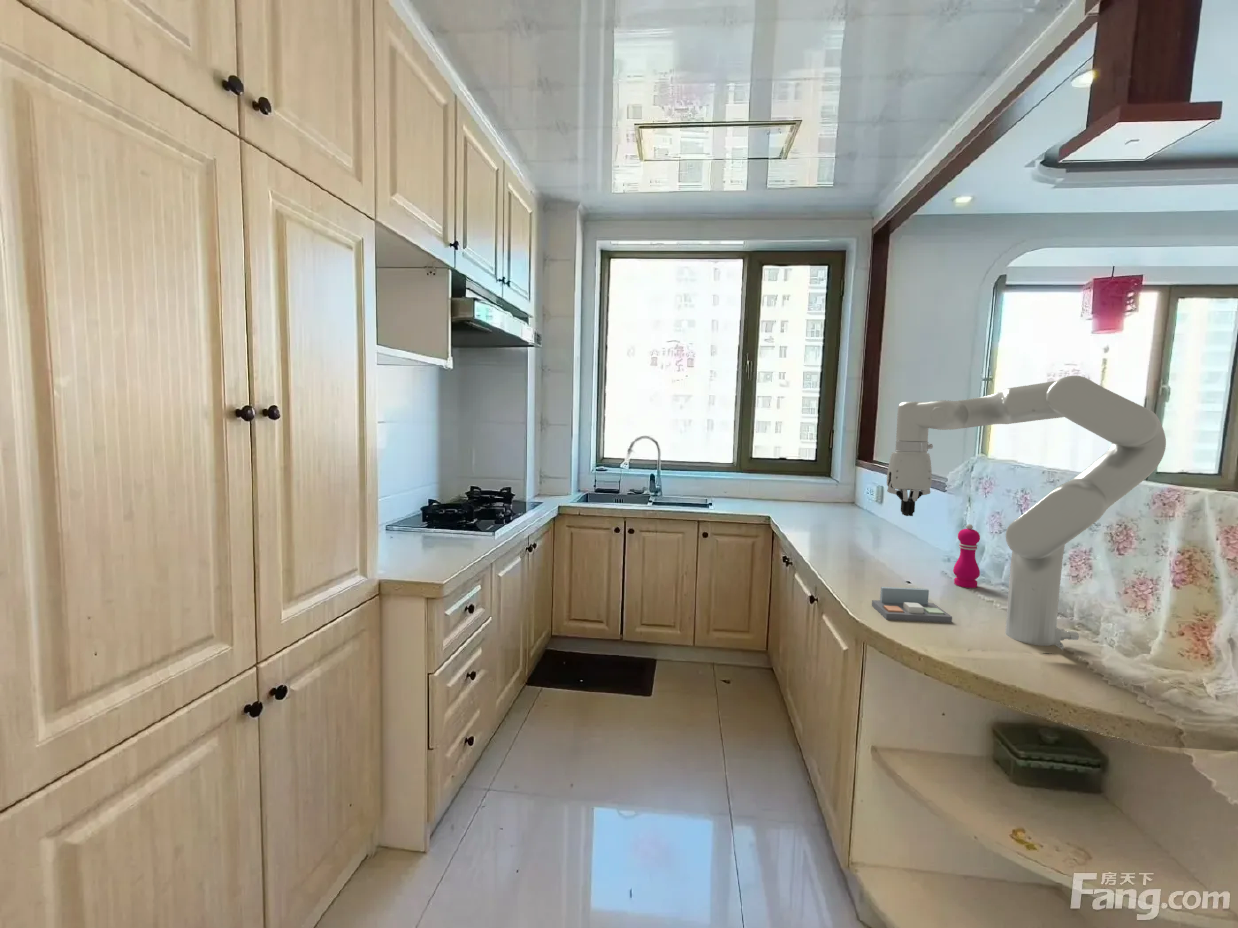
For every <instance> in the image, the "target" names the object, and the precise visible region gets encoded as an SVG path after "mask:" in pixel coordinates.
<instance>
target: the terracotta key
mask: <svg viewBox="0 0 1238 928" xmlns="http://www.w3.org/2000/svg"><path fill="white" fill-rule="evenodd" d="M884 609H885V610H887V611H888V612H900V613H903V610H902V609H901V608H899V607H898V606H885V605H884Z"/></svg>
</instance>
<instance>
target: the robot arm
mask: <svg viewBox="0 0 1238 928" xmlns="http://www.w3.org/2000/svg"><path fill="white" fill-rule="evenodd" d="M1059 418H1060V419H1062V418H1065V419H1068V421H1071V422H1072V423H1074V424H1076V425H1078V426H1080V427H1081V428H1084V429H1085V430H1087V431H1089V432H1091V433H1093V434H1094V435H1096V436H1099V437H1100V438H1102V439H1103V440H1106V441H1107V442H1110V447H1109V448H1108V450H1107V451H1105V453H1103V454H1102V455H1101V456H1100V457H1099V458H1097V459H1096V460H1095V461H1093V462H1092V463H1091V464H1090V465H1089V466H1088V467H1087V468H1085V469H1084V470H1082V472H1080V473H1078V474H1077V475H1076V476H1074V477H1073V478H1072V479H1070V480H1068V481H1065V482H1064V483H1062V484H1060V485H1059V486H1057V487H1056V488H1054V489H1053V490H1051V491H1050V492H1049V493H1047V495H1044V497H1042V498H1041V499H1039V501H1037V502H1036V503H1035V504H1034V505H1032V506H1030V508H1028V510H1026V511H1025V512H1023V513H1022V514H1021V515H1020V516H1018V517H1017V518H1016V519H1014V520H1013V521H1012V522H1011V523H1010V524H1009V525H1008V527H1007V529H1006V532H1005V542H1006V544H1007V547H1008V548H1009V549H1010V550H1011V557H1010V567H1009V578H1008V579H1009V582H1008V590H1007V591H1008V593H1007V608H1006V620H1005V633H1004V634H1005V635H1006V636H1007V637H1008V638H1011V639H1013V640H1015V641H1017V642H1020V643H1023V644H1024V643H1025V644H1029V645H1034V646H1041V647H1042V646H1044V647H1047V646H1048V647H1050V646H1056V647H1057V648H1059V649H1060V650H1062V651H1063V650H1064V644H1063V643H1062V642H1061V641H1064V640H1070V641H1071V640H1072V641H1078V640H1079V639H1080V636H1079V633H1078V632H1077V631H1073V630H1072V631H1071V630H1066V631H1065V629H1064V628H1060V627H1057V625H1058V612H1059V601H1060V600H1059V599H1060V590H1061V589H1060V588H1061V582H1062V581H1061V579H1062V569H1063V559H1064V554H1065V553H1064V552H1065V546H1066V544H1067V543H1069V542H1071V541H1072V540H1073V539H1075V538H1076V537H1078V536H1079V535H1080V534H1082V533H1083V532H1084V531H1086V530H1087V529H1089V528H1090V527H1091V526H1092V525H1094V524H1095V523H1096V522H1098V521H1099V520H1100V519H1101V517H1102V516H1103V515H1104V514H1105V513H1106V511H1107V510H1108V509H1109V508H1110V507H1111V506H1112V505H1114V504H1115V503H1117V502H1118V501H1119V500H1121V499H1122V498H1123V497H1124V496H1126V495H1127V494H1128V493H1130V492H1131V491H1132V490H1133V489H1135V488H1136V487H1137V486H1138V485H1140V484H1141V483H1142V482H1143V481H1145V480H1146V479H1147V478H1148V477H1149V476H1150V475H1152V473H1153V472H1155V470H1156V469H1157V468H1158V466H1159V465H1160V464H1161V461H1162V460H1163V457H1164V455H1165V452H1166V447H1167V441H1166V440H1167V439H1166V433H1165V431H1164V428H1163V425H1162V423H1161V421H1160V418H1159V417H1158V416H1157V414H1156V413H1155V412H1154V411H1153V410H1151V409H1149V408H1148V407H1145V406H1142V405H1140V404H1139V403H1137V402H1134V401H1132V400H1130V399H1128V398H1126V397H1124V396H1122V395H1120V394H1117V393H1115V392H1114V391H1111V390H1109V389H1107V388H1105V387H1104V386H1102V385H1099V383H1096V382H1094V381H1092V380H1091V379H1090V378H1087V377H1084V376H1081V375H1069V376H1068V375H1067V376H1064V377H1061V378H1059V379H1057V380H1053V381H1047V382H1040V383H1034V384H1028V385H1021V386H1014V387H1008V388H1005V389H1002V390H1000V391H998V392H996V393H993V394H989V395H984V396H980V397H974V398H967V399H962V400H946V399H945V400H943V399H941V400H936V401H935V400H933V401H902V402H900V403H899V404H898V406H897V417H896V433H895V434H896V436H895V450H894V451H893V452H891V454H890V459H889V462H888V463H889V464H888V468H887V474H886V486H887V491H886V492H887V493H889V494H893V495H896V496H897V497H898V499H899V500H900V512H901V514H902V516H905V517H913V516H914V514H915V512H916V502H917V501H918V499H919V498H921V497H922V496H927V495H929V494H931V487H932V479H933V477H932V460H931V455H930V453H929V452H928V451H929V450H931V449H933V448H934V446H933V443H929V441H928V440H929V429H932V430H938V431H939V430H940V431H941V430H942V431H949V430H950V431H951V430H959V429H960V430H961V429H968V428H975V427H983V426H992V425H1009V424H1018V423H1019V424H1020V423H1026V422H1035V421H1043V420H1044V421H1045V420H1051V419H1059ZM908 491H909V493H908ZM1044 654H1046V655H1047V654H1048V655H1049V654H1051V655H1053V653H1050V652H1049V653H1048V652H1044Z"/></svg>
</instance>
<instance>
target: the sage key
mask: <svg viewBox="0 0 1238 928" xmlns="http://www.w3.org/2000/svg"><path fill="white" fill-rule="evenodd" d="M924 611H926V612H927V613H928V614H942V615H944V612H942V611H941V610H939V609H938V608H927V607H924Z"/></svg>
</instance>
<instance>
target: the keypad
mask: <svg viewBox="0 0 1238 928" xmlns="http://www.w3.org/2000/svg"><path fill="white" fill-rule="evenodd" d="M929 594H930V590H929V589H928V588H918V587H917V588H914V587H894V586H893V587H891V586H890V587H889V586H881V587H880V598H879V599H880V600H878V599H876V600H875V599H873V600H871V607H872V608H874V609H875V610H876V612H878V613H879V614H880V615H881V616H882V617H883V618H884V619H885V620H887V621H891V620H892V621H909V622H928V623H929V622H930V623H931V622H932V623H949V624H952V623H953V616H951V614H949V613H948V612H946V611H945V610H944V609H943V608H942V607H941V608H940V607H939V606H938V605H936V603H934V602H929ZM904 602H909V603H919V604H920V605H921V606H923V607H927V608H938V609H939V610H941V611H942V612H944V615H942V614H928V613H927V612H926V611H924V614H921V613H908V612H907V611H905V610H904V609H903V604H904ZM884 605H885V606H898V607H899V608H901V609H902V610H903V613H900V612H888V611H887V610H885V609H884Z"/></svg>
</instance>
